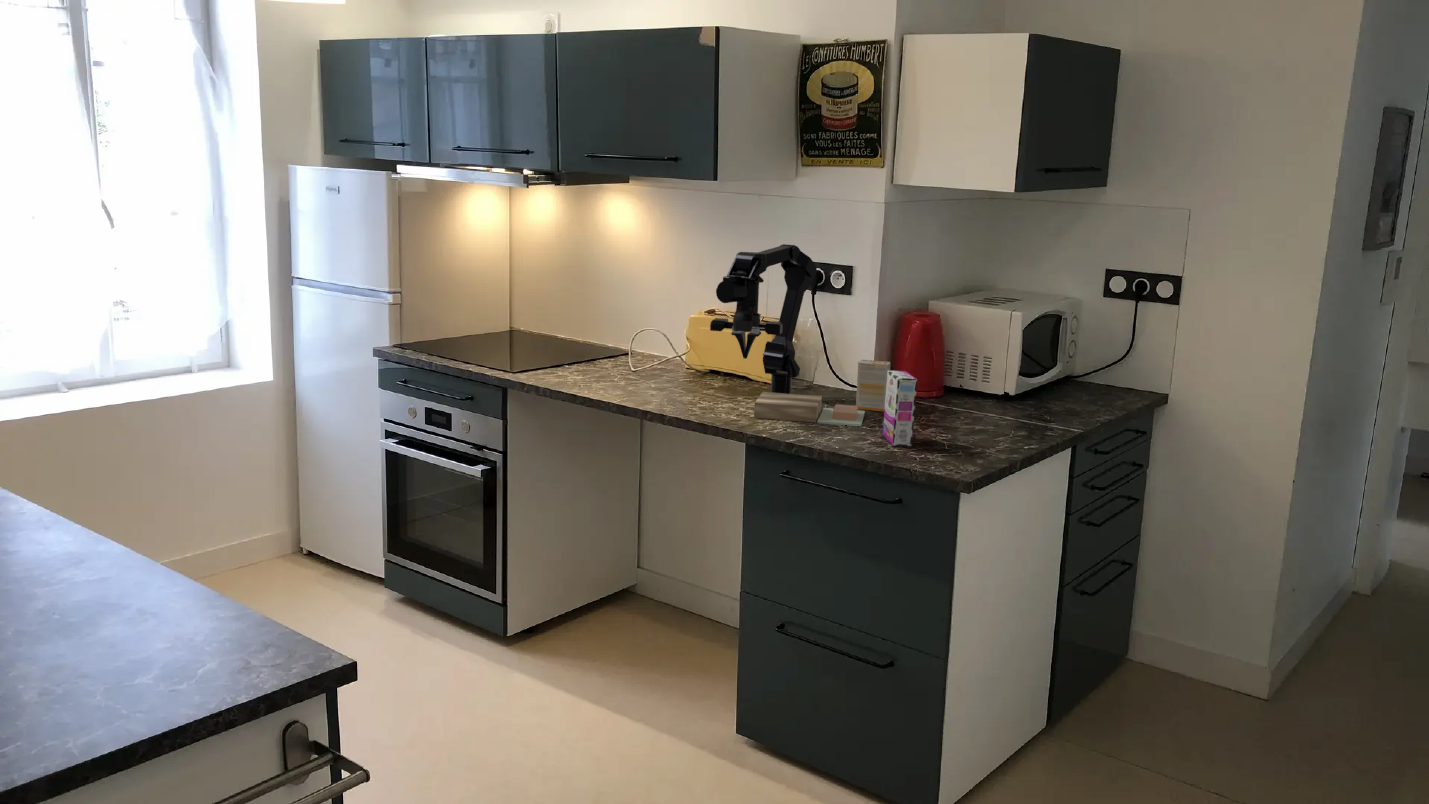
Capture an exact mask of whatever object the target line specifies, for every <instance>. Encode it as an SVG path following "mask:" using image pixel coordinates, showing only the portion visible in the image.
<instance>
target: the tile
mask: <svg viewBox="0 0 1429 804" xmlns="http://www.w3.org/2000/svg"><path fill="white" fill-rule="evenodd" d="M832 409H833V414H832V419H836V420H849V421H856V418H857V415H858V411H859V409H858V406H856V405H848V404H835V406H834V407H833V408H832Z"/></svg>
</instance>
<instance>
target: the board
mask: <svg viewBox="0 0 1429 804" xmlns="http://www.w3.org/2000/svg"><path fill="white" fill-rule="evenodd" d="M822 405H823V396H822V395H812V394H811V395H810V394H795V393H793V394H784V393H771V391H770V392H769V391H768V392H767V391H762V392H761V394H760V395H759V396H758V397H757V399H756V400H755V401H754V407H753V408H754V410H753V411H754V412H753V418H754V419H756V418H757V419H767V420H769V419H770V420H781V421H790V422H791V421H793V422H803V423H804V422H805V423H807V422H808V423H817V422H818V419H819V417H820V415H821V413H822V410H823V408H822Z"/></svg>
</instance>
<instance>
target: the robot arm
mask: <svg viewBox="0 0 1429 804" xmlns="http://www.w3.org/2000/svg"><path fill="white" fill-rule="evenodd" d="M778 264H780V267H781V268H782V269H783V271H784V282H785V285H786V291H785V295H784V300H783V303H782V308H781V311H780V316H779V320H778V321H773V320H771V321H769V320H767V322H766V323H761V314H760V313H759V293H760V283H764V279H763V278H762V276H760V275H761V274H763V273H765V272H766V271H767V269H768V267H771V266H774V265H775V266H776V265H778ZM817 272H818V271H817V266H816V264H815V261H813V259H812V258H811V257H810V256H808V255H807V254H806V253H804V252H803V251H801V249H800V248H799V247H798V245H796V244H785V243H783V244H781V245H779V246H776V247H772V248H768V249H764V250H760V251H759V252H757V251H756V252H755V251H754V252H753V251H740V252H739V251H738V252H737V253H736V256H735V257H734V258H733V261H732V264H731V266H730V267H729V269H728V271H727V274H726V275H724V276H722V281H721V282H719V283H718V284H717V287H716V289H715V294H716V297H717V299H718V300H719V302H721V303H723V304H730V303H736V307H735V309H736V310H735V311H734V315H733V318H732V321H729V318H722V317H715V318H714V319H712V320H711V321H710V325H709V330H710V331H711V332H722V331H723V330H725V329H728V330H730V329H731V333H730V334H731V335H732V336H735V338H736V340H737V342H738V345H739V347H740V352H741V354H742V358H743V360H744V359H748V358H749V357H748V356H749V354H750V351H751V348H752V346H753V343H754V342H755V340H756V338H758V337H760V335H762V332H765V333H766V334H767V335H769V336H770V335H774V338H773V339H772V340H771V341H769V340H768V341H766V343H765V345H764V346H765V347H764V351H763V353H762V356H763V357H762V365H763V370H764V374H766V375H771V379H770V381H771V382H770V392H771V393H784V394H794V392H792V379H793V378H797V377H799V375H800V371H801V368H800V366H799V364H798V363H797V360H796V359H795V358H796V350H795V347H794V344H793V340H794V337H795V336H794V335H795V331H796V328H797V324H798V320H799V315H800V312H801V308H802V303H803V299H804V295H805V293H806V292H807V290H808V289H809V288H811V286H812V285H813V282H814V280H815V276H816V275H817ZM746 333H747V335H746Z"/></svg>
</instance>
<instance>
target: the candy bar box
mask: <svg viewBox="0 0 1429 804" xmlns="http://www.w3.org/2000/svg"><path fill="white" fill-rule="evenodd" d="M917 387H918V379H917V377H915V376H913V375H912V374H911V373H909V372H908V371H905V370H890V371H887V384H886V396H885V409H884V412H883V413H884V414H883V425H882V436H883V437H884V438H885V439H886V440H887V442H889V444H890V445H892V447H912V446H913V438H914V437H913V434H914V423H915V414H916V413H915V411H916V403H917V402H916V401H917Z"/></svg>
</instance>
